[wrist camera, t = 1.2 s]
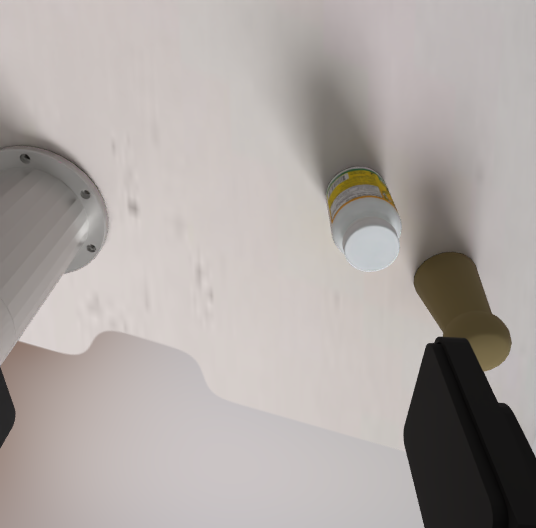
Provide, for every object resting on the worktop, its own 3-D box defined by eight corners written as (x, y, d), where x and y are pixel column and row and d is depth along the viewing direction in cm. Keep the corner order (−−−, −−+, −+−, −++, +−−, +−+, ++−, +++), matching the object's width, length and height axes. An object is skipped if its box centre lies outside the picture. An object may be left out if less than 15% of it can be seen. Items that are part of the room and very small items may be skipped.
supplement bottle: (325, 165, 43) (335, 216, 34) (389, 163, 42) (413, 214, 34) (325, 221, 45) (333, 280, 37) (384, 219, 45) (406, 278, 37)
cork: (434, 243, 46) (472, 316, 37) (490, 264, 47) (540, 340, 38) (402, 292, 49) (429, 371, 40) (455, 310, 50) (493, 392, 41)
